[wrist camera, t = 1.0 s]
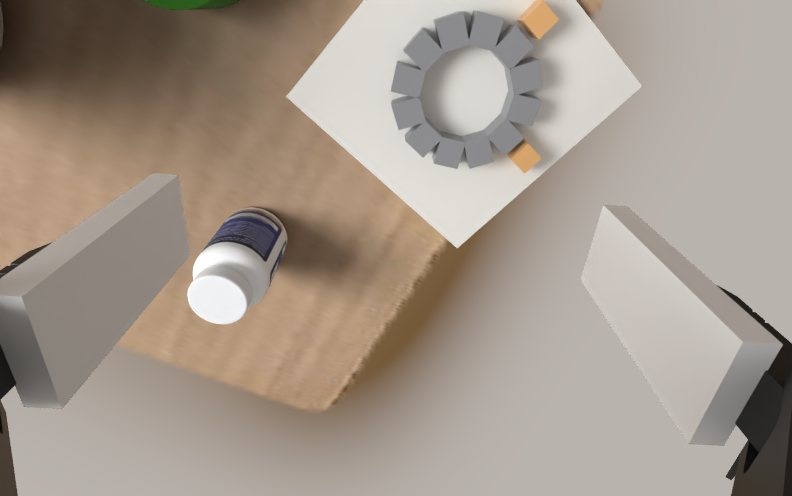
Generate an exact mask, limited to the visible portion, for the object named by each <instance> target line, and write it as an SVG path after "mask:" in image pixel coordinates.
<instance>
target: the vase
mask: <svg viewBox="0 0 792 496" xmlns="http://www.w3.org/2000/svg"><path fill="white" fill-rule="evenodd" d="M3 24H4V20H3V10H2V6H1V1H0V49H1V46H2V40H3Z"/></svg>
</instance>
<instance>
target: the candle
mask: <svg viewBox="0 0 792 496" xmlns="http://www.w3.org/2000/svg"><path fill="white" fill-rule="evenodd" d="M142 1H144V2H147V3H149V4H152V5H154V6H156V7H161V8H165V9H170V10H189V9H210V8H221V7H225V6H229V5H231V4H233V3H235V2H237V1H239V0H142Z"/></svg>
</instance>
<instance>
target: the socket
mask: <svg viewBox="0 0 792 496" xmlns="http://www.w3.org/2000/svg"><path fill="white" fill-rule="evenodd" d="M641 87H642V85H641V84H640V82H639V81H638V80H637V79H636V77H635V76H634V75H633V74H632V72H631V71H630V70H629V68H628V67H627V66H626V65H625V63H624V62H623V60H622V59H621V58H620V57H619V56H618V54H617V53H616V51H615V50H614V49H613V48H612V46H611V45H610V44H609V42H608V41H607V40H606V38H605V37H604V36H603V35H602V34H601V32H600V31H599V29H598V28H597V27H596V26H595V24H594V23H593V22H592V20H591V19H590V18H589V16H588V15H587V14H586V13H585V11H584V10H583V9H582V7H581V6H580V5H579V4H578V2H577V1H576V0H364V1H363V2H362V3H361V4H360V6H359V7H358V8H357V9H356V11H355V12H354V13H353V14H352V15H351V17H350V18H349V19H348V20H347V22H346V23H345V24H344V25H343V27H342V28H341V29H340V30H339V32H338V33H337V34H336V35H335V37H334V38H333V39H332V40H331V42H330V43H329V44H328V45H327V47H326V48H325V49H324V50H323V52H322V53H321V54H320V55H319V57H318V58H317V59H316V60H315V61H314V63H313V64H312V65H311V66H310V68H309V69H308V70H307V71H306V73H305V74H304V75H303V76H302V78H301V79H300V80H299V81H298V83H297V84H296V85H295V86H294V88H293V89H292V90H291V91H290V93H289V94H288V95H287V96H286V97H287V98H288V99H289V100H290V101H291V102H293V103H294V104H295V105H296V106H297V107H298V108H299V109H301V110H302V111H303V112H304V113H305V114H306V115H307V116H308V117H310V118H311V119H312V120H313V121H314V122H315V123H316V124H317V125H319V126H320V127H321V128H322V129H323V130H324V131H325V132H326V133H328V134H329V135H330V136H331V137H332V138H333V139H334V140H336V141H337V142H338V143H339V144H340V145H341V146H342V147H343V148H345V149H346V150H347V151H348V152H349V153H350V154H351V155H352V156H354V157H355V158H356V159H357V160H358V161H359V162H360V163H361V164H363V165H364V166H365V167H366V168H367V169H368V170H369V171H371V172H372V173H373V174H374V175H375V176H376V177H377V178H378V179H380V180H381V181H382V182H383V183H384V184H385V185H386V186H387V187H389V188H390V189H391V190H392V191H393V192H394V193H395V194H396V195H398V196H399V197H400V198H401V199H402V200H403V201H404V202H406V203H407V204H408V205H409V206H410V207H411V208H412V209H413V210H415V211H416V212H417V213H418V214H419V215H420V216H421V217H422V218H424V219H425V220H426V221H427V222H428V223H429V224H430V225H432V226H433V227H434V228H435V229H436V230H437V231H438V232H439V233H441V234H442V235H443V236H444V237H445V238H446V239H447V240H448V241H450V242H451V243H452V244H453V245H454V246H455V247H456V248H458V247H459V246H460V245H462V244H463V243H464V242H465V241H466V240H467V239H469V237H471V236H472V235H473V234H474V233H475V232H477V231H478V230H479V229H480V228H481V227H482V226H483V225H484V224H486V223H487V222H488V221H489V220H490V219H491V218H493V217H494V216H495V215H496V214H497V213H498V212H499V211H500V210H502V209H503V208H504V207H505V206H506V205H507V204H508V203H510V202H511V201H512V200H513V199H514V198H515V197H516V196H518V195H519V194H520V193H521V192H522V191H523V190H525V189H526V188H527V187H528V186H529V185H530V184H531V183H533V182H534V181H535V180H536V179H537V178H538V177H539V176H541V175H542V174H543V173H544V172H545V171H546V170H547V169H549V168H550V167H551V166H552V165H553V164H554V163H555V162H557V161H558V160H559V159H560V158H561V157H562V156H563V155H564V154H566V153H567V152H568V151H569V150H570V149H571V148H572V147H574V146H575V145H576V144H577V143H578V142H579V141H581V140H582V139H583V138H584V137H585V136H586V135H587V134H589V133H590V132H591V131H592V130H593V129H594V128H595V127H597V126H598V125H599V124H600V123H601V122H602V121H603V120H605V119H606V118H607V117H608V116H609V115H610V114H611V113H613V112H614V111H615V110H616V109H617V108H618V107H619V106H621V105H622V104H623V103H624V102H625V101H626V100H627V99H629V98H630V97H631V96H632V95H633V94H634V93H635V92H636V91H638V90H639V89H640V88H641Z"/></svg>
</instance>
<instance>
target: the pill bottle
mask: <svg viewBox="0 0 792 496" xmlns="http://www.w3.org/2000/svg"><path fill="white" fill-rule="evenodd" d="M286 246H287V233H286V230H285V228H284V226H283V224H282V223H281V222H280V220H279V219H278V218H277V217H276V216H274V215H273V214H272V213H270V212H268V211H266V210H264V209H260V208H254V207H249V208H243V209H240V210H237V211H236V212H234V213H233V214H231V215H230V216H229V217H228V218H227V220H226V221H225V222H224V223H223V225H222V226H221V227H220V229H219V230H218V231H217V233H216V234H215V235H214V237H213V238H212V239H211V241H210V242H209V243H208V245H207V246H206V247H205V248H204V250H203V251H202V252H201V254H200V255H199V256H198V258H197V259H196V261H195V264H194V267H193V279H194V280H193V282H192V283H191V285H190V287H189V289H188V295H187V296H188V302H189V304H190V306H191V308H192V309H193V311H194V312H195V313H196V314H197V315H199V316H200V317H201V318H203V319H205V320H207V321H209V322H212V323H216V324H229V323H233V322H236V321H238V320H239V319H241V318H242V317H243V316H244V314H245V313H246V311H247V309H248V308H249V307H251V306H253V305H255V304H257V303H258V302H259V301H260V300H261V299H262V298H263V297H264V296H265V294H266V292H267V290H268V288H269V286H270V284H271V282H272V279H273V277H274V275H275V273H276V271H277V268H278V266H279V264H280V262H281V259H282V257H283V255H284V252H285V250H286Z"/></svg>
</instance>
